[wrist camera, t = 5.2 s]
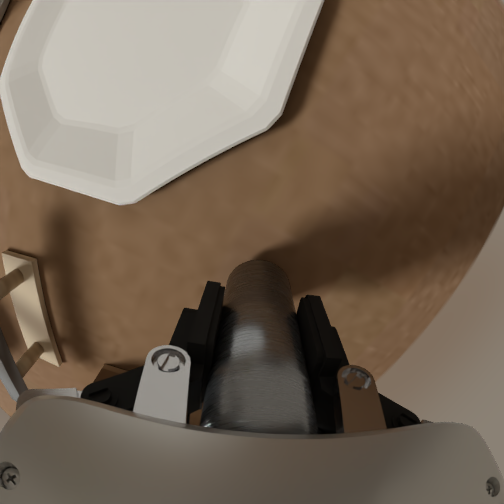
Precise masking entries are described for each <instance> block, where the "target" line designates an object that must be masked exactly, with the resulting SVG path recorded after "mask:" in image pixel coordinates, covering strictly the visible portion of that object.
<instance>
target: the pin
mask: <svg viewBox="0 0 504 504" xmlns="http://www.w3.org/2000/svg"><path fill="white" fill-rule="evenodd" d="M199 426H202V427H209V428H216V429H224V430H232V431H242V432H253V433H267V434H296V435H311V434H319V431H318V425H317V419H316V413H315V408H314V402H313V397H312V391H311V386H310V381H309V376H308V370H307V365H306V360H305V355H304V350H303V345H302V340H301V335H300V330H299V326H298V321H297V316H296V311H295V307H294V302H293V297H292V293H291V288H290V284H289V280H288V277H287V275H286V274H285V272H284V271H283V270H282V269H281V268H280V267H279V266H277V265H276V264H274V263H272V262H269V261H265V260H251V261H247V262H245V263H242V264H241V265H239V266H238V267H236V268H235V269H234V270H233V271H232V273H231V274H230V276H229V278H228V280H227V285H226V290H225V294H224V301H223V308H222V313H221V318H220V323H219V329H218V334H217V339H216V344H215V350H214V355H213V360H212V366H211V371H210V373H209V376H208V381H207V387H206V392H205V397H204V403H203V408H202V414H201V420H200V425H199Z"/></svg>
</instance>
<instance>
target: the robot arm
mask: <svg viewBox="0 0 504 504" xmlns="http://www.w3.org/2000/svg"><path fill="white" fill-rule="evenodd" d="M9 1H10V0H0V22H1V20H2V17H3V15H4V13H5V11H6V9H7V6H8V4H9ZM220 285H221V283H218V282H212V281H207V284H206V287H205V290H204V293H203V296H202V299H201V302H200V305H199V308H198V310H195V309H189V308H184V309H183V311H182V314H181V316H180V319H179V321H178V324H177V326H176V329H175V331H174V334H173V336H172V339H171V341H170V344H169V345H164V346H158V347H156V348H154V349H152V350H151V351H150V352H149V354H148V355H147V358H146V361H145V365H144V366H141V367H139V368H136V369H133V370H130V371H127V372H124V373H121V374H118V375H115V376H112V377H109V378H106V379H103V380H100V381H97V382H94V383H91V384H89V385H88V386H86V387H85V388H84V389H83V391H77V389H76V388H65V389H29V390H26V391H24V392H22V393H21V394H20V395H19V397H18V399H17V405H16V412H15V413H14V414H13V415H12V416H11V418H10V419H9V420H8V422H7V423H6V425H5V426H4V427H3V429H2V431H1V432H0V504H504V480H503V477H502V475H501V472H500V470H499V467H498V465H497V463H496V461H495V459H494V457H493V455H492V453H491V451H490V449H489V447H488V445H487V444H486V442H485V441H484V439H483V438H482V436H481V435H480V433H479V432H478V431H477V430H476V429H474V428H473V427H471V426H468V425H465V424H462V423H454V422H435V423H434V422H430V421H427V420H422V421H421V422H420V420H419V418H418V417H417V416H416V415H415V414H414V413H412V412H411V411H409V410H407V409H406V408H404V407H402V406H400V405H399V404H397V403H395V402H393V401H392V400H390V399H388V398H387V397H385V396H383V395H381V394H380V393H378V391H377V387H376V384H375V380H374V378H373V376H372V374H371V373H370V372H369V371H367V370H366V369H365V368H362V367H360V366H356V365H349V362H348V360H347V357H346V354H345V351H344V349H343V346H342V343H341V341H340V338H339V335H338V333H337V330H336V328H335V327H331V325H330V322H329V319H328V317H327V314H326V311H325V309H324V306H323V303H322V301H321V298H320V296H314V295H306V297H305V298H303V297H302V298H301V300H300V303H299V307H298V310H297V314H296V316H297V321H298V326H299V330H300V335H301V340H302V345H303V350H304V355H305V360H306V365H307V370H308V376H309V381H310V386H311V391H312V397H313V402H314V408H315V413H316V419H317V425H318V431H319V434H311V435H296V434H267V433H253V432H242V431H232V430H224V429H216V428H209V427H202V426H196V425H191V424H190V414H191V413H193V412H195V411H197V410H199V409H200V410H201V409H202V403H203V402H204V397H205V392H206V387H207V381H208V376H209V373H210V371H211V366H212V360H213V355H214V350H215V344H216V339H217V334H218V329H219V323H220V318H221V313H222V308H223V301H224V293H225V287H222V286H220Z"/></svg>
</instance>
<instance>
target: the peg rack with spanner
mask: <svg viewBox="0 0 504 504" xmlns="http://www.w3.org/2000/svg"><path fill="white" fill-rule="evenodd" d="M2 257H3V263H4V268H5V273H6V275H5V276H4V277H2V278H1V279H0V300H1V299H2V298H3V297H4V296H6V295H7V294H8V293H10V294H11V298H12V302H13V305H14V309H15V312H16V316H17V319H18V322H19V325H20V328H21V331H22V334H23V337H24V340H25V342H26V345H27V348H28V350H27V351H26V352H25V353H24V354H23V356H22V357H21V358H20V359H19V360H18V361H17V362H16V364H15V362H14V360H13V357H12V355H11V353H10V351H9V348H8V346H7V343H6V341H5V338H4V336H3V333H2V330H1V328H0V379H1V380H2V382H3V384H4V386H5V388H6V389H7V391H8V393H9V394H10V396H11V398H12V399H13V400H15V401H16V402H17V399H18V397H19V395H20V394H21V393H22V392H24V391H26V390H28V388H27V386H26V384H25V382H24V381H23V379H22V378H23V377H24V376H25V374H26V373H27V372H28V371H29V369H30V368H31V367H32V366H33V365H34V363H35V362H36V361H37V360H38V359H39V358H41V359H43V360H45V361H47V362H50V363H52V364H54V365H56V366H58V367H60V366H61V364H62V360H61V357H60V354H59V351H58V348H57V345H56V342H55V338H54V335H53V332H52V328H51V325H50V321H49V317H48V313H47V309H46V305H45V301H44V296H43V291H42V287H41V281H40V276H39V270H38V264H37V259H36V258H32V257H28V256H25V255H21V254H18V253H14V252H11V251H8V250H6V251H4V252H2Z"/></svg>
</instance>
